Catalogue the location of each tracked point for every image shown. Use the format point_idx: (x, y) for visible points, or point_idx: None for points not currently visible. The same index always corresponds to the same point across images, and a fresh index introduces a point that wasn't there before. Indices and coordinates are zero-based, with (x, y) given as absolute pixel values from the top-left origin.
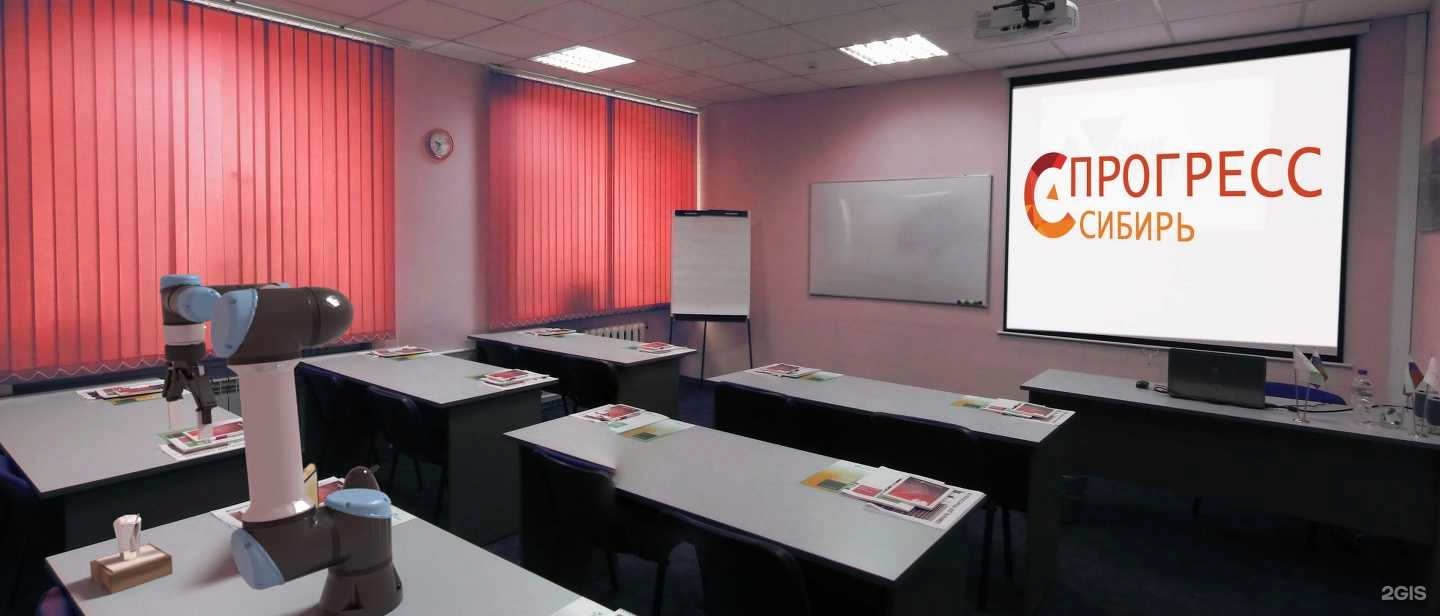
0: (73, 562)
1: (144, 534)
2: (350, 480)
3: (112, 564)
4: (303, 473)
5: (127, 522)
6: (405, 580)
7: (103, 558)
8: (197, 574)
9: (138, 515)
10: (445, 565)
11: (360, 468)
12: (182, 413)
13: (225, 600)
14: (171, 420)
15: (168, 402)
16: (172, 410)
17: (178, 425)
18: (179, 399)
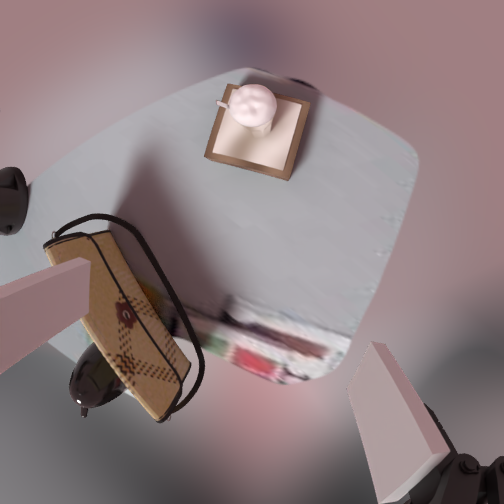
0: (388, 146)
1: (387, 250)
2: (78, 377)
3: None
4: (121, 379)
5: (233, 93)
6: (11, 247)
7: (295, 110)
8: (175, 171)
9: (218, 103)
10: (9, 281)
11: (72, 397)
12: (365, 437)
13: (94, 144)
14: (384, 374)
15: (442, 453)
16: (401, 422)
17: (359, 378)
18: (409, 499)
